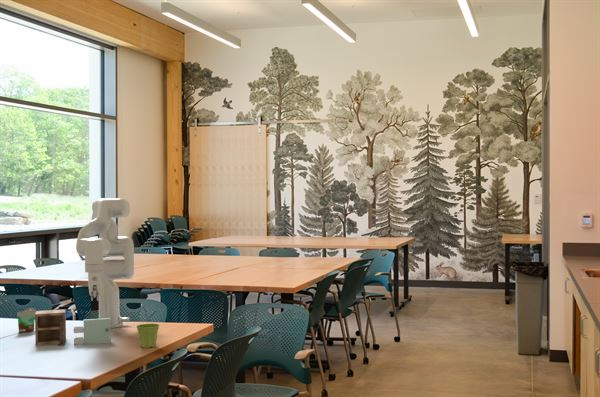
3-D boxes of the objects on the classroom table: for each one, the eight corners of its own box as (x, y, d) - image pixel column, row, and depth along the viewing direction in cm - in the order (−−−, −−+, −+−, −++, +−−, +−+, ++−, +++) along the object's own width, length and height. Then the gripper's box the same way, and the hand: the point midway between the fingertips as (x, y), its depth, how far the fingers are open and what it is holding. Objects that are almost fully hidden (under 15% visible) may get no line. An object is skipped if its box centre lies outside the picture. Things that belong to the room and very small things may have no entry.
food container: (30, 333, 351) (30, 311, 351) (17, 333, 351) (17, 311, 351) (40, 328, 364) (40, 307, 364) (27, 329, 364) (27, 307, 364)
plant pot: (154, 349, 311) (154, 327, 311) (132, 348, 313) (132, 327, 313) (163, 344, 320) (163, 323, 320) (142, 344, 322) (141, 323, 322)
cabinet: (66, 339, 335) (65, 309, 335) (65, 345, 322) (64, 314, 322) (36, 341, 332) (36, 311, 332) (34, 347, 319) (34, 315, 319)
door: (110, 341, 330) (110, 317, 330) (110, 342, 326) (110, 319, 326) (74, 343, 326) (73, 319, 326) (73, 345, 322) (73, 321, 322)
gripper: (103, 269, 319) (104, 311, 319) (103, 266, 336) (103, 306, 335) (84, 270, 317) (85, 312, 317) (85, 267, 334) (85, 307, 333)
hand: (94, 309), depth 326 cm, fingers open, 9 cm apart
